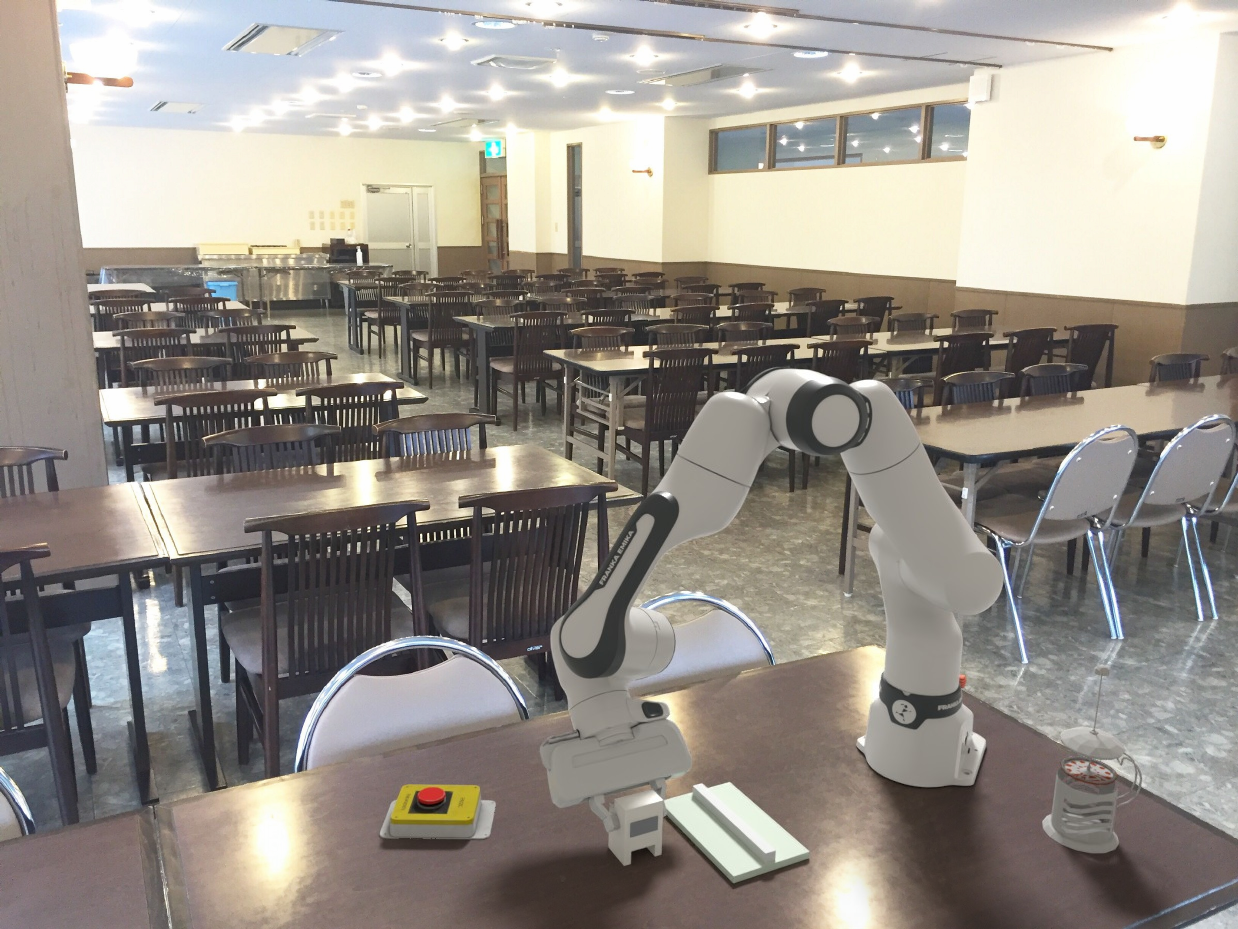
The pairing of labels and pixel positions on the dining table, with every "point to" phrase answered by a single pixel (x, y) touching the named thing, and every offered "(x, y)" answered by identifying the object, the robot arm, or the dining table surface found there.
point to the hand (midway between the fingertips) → (637, 823)
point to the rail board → (733, 831)
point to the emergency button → (439, 813)
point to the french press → (1088, 789)
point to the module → (637, 824)
